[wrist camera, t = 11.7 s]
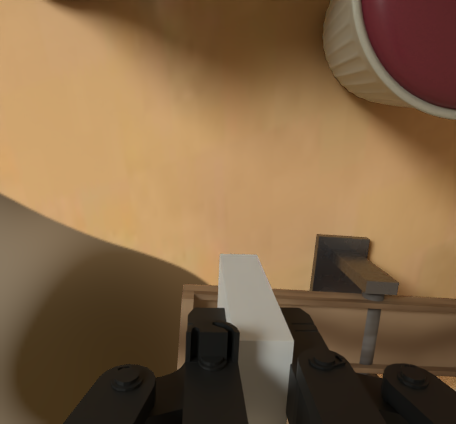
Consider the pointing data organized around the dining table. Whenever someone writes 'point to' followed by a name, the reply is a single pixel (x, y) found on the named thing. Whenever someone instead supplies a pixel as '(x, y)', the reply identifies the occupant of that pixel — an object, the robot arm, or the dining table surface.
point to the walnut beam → (362, 326)
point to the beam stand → (348, 268)
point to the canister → (395, 52)
